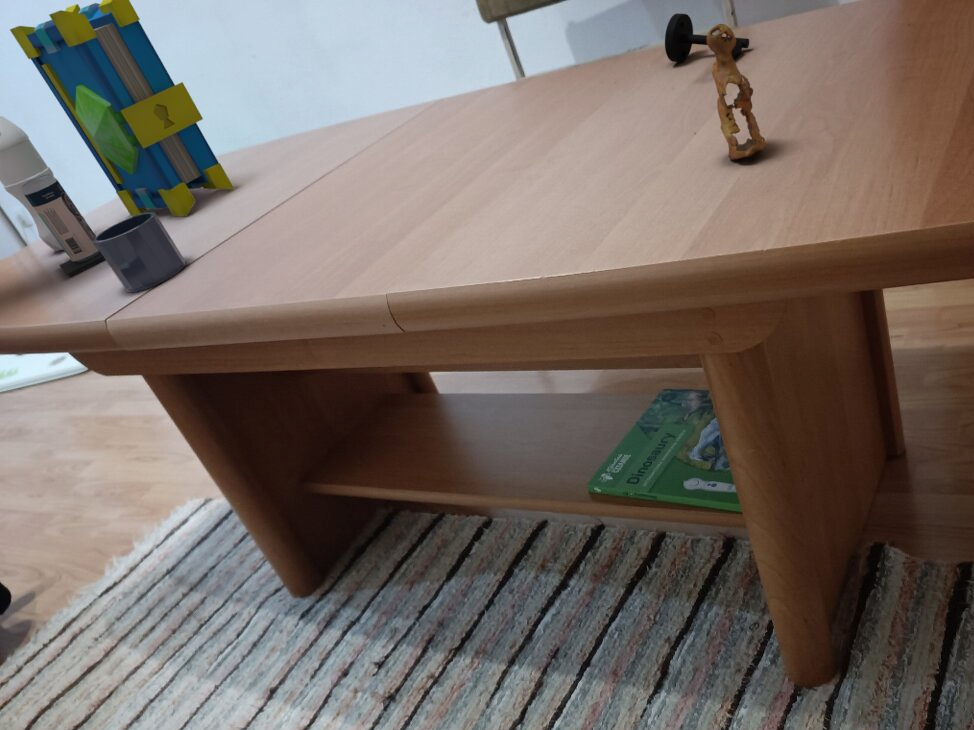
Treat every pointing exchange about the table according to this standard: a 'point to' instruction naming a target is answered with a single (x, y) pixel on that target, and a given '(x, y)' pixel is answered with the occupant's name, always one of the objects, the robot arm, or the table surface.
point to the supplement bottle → (61, 217)
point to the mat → (80, 265)
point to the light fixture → (689, 39)
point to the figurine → (729, 73)
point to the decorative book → (124, 105)
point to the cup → (140, 252)
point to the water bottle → (22, 171)
